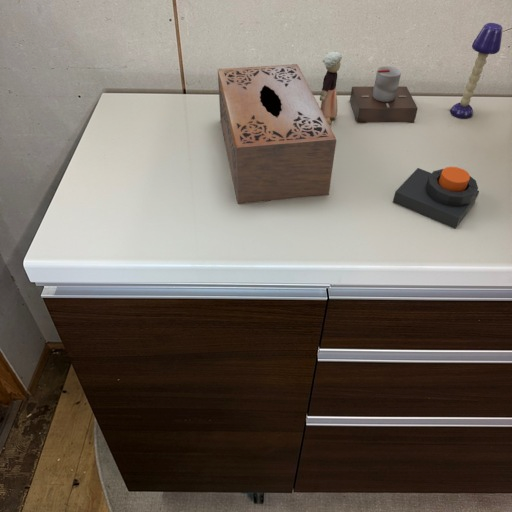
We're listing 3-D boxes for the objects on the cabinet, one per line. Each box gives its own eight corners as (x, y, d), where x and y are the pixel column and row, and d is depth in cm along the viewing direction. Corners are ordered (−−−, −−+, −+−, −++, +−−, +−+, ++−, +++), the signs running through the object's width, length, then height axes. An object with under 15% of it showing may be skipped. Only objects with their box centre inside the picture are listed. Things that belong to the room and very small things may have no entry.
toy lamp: (477, 112, 93) (510, 23, 81) (471, 122, 90) (504, 32, 79) (453, 106, 95) (482, 18, 83) (446, 115, 92) (475, 26, 80)
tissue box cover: (328, 195, 74) (336, 139, 67) (237, 204, 73) (236, 147, 66) (293, 114, 92) (297, 64, 85) (220, 120, 91) (217, 69, 83)
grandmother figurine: (334, 129, 89) (343, 61, 80) (314, 126, 89) (321, 59, 80) (338, 109, 94) (346, 44, 85) (318, 107, 94) (325, 42, 85)
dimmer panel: (403, 100, 97) (406, 85, 94) (414, 122, 90) (418, 107, 88) (349, 100, 97) (352, 85, 94) (356, 122, 90) (359, 107, 88)
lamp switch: (470, 182, 71) (474, 173, 69) (460, 195, 68) (464, 185, 67) (444, 173, 72) (448, 163, 71) (434, 185, 70) (437, 175, 69)
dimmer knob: (390, 90, 93) (395, 63, 89) (399, 100, 90) (405, 73, 86) (369, 92, 92) (373, 65, 89) (377, 103, 89) (382, 75, 86)
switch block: (475, 201, 73) (484, 180, 71) (454, 229, 69) (463, 208, 66) (415, 177, 78) (421, 156, 75) (392, 202, 73) (397, 181, 70)
